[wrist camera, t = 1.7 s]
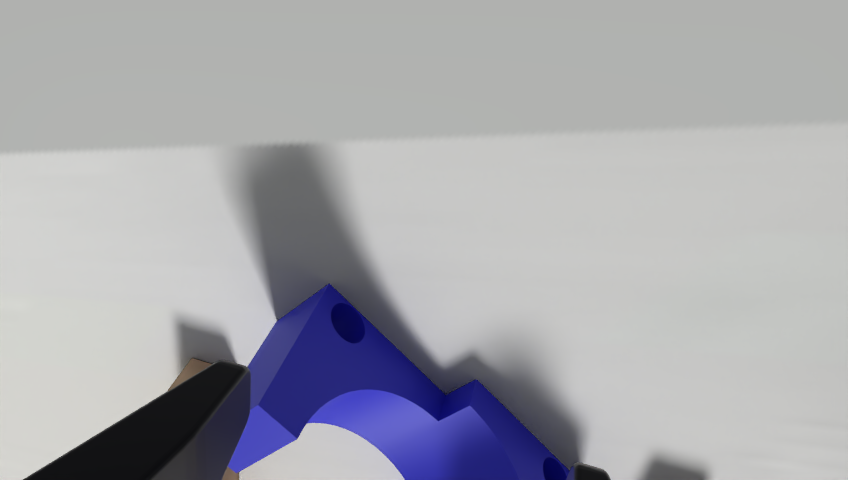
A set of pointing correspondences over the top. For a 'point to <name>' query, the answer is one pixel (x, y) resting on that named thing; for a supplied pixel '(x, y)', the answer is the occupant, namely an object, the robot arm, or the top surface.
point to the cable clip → (379, 402)
